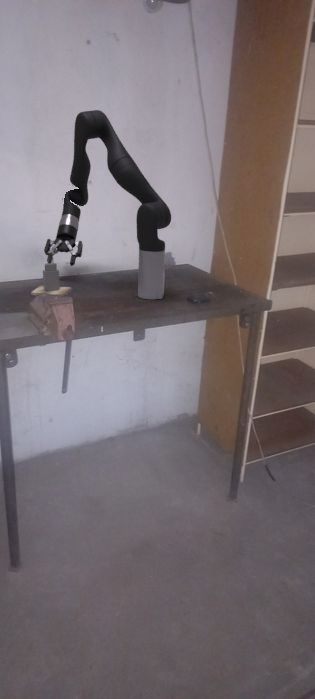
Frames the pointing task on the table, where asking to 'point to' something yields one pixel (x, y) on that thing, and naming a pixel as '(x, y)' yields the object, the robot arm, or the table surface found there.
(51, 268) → the power adapter
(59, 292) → the birch board
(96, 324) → the table surface
